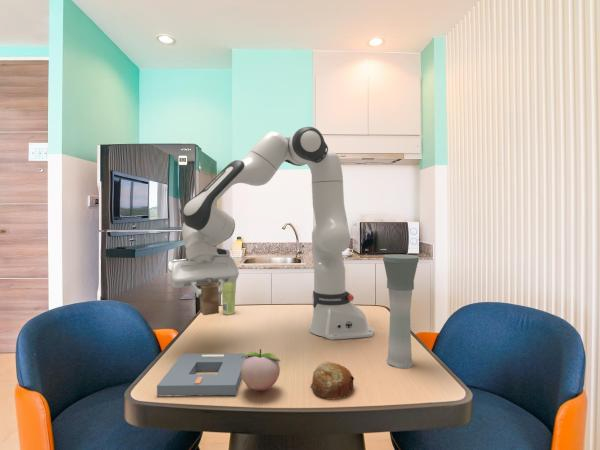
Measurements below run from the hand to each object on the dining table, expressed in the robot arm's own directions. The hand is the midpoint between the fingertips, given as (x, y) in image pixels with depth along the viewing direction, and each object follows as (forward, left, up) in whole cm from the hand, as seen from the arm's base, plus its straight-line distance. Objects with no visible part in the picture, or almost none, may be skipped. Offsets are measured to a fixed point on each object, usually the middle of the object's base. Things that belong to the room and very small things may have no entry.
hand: (209, 294), depth 102 cm
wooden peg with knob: (0, -1, -5) cm, 5 cm away
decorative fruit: (-17, +22, -18) cm, 33 cm away
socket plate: (-3, +14, -18) cm, 23 cm away
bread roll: (-34, +20, -18) cm, 44 cm away
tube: (+2, -43, -18) cm, 46 cm away
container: (-55, +6, -18) cm, 58 cm away
